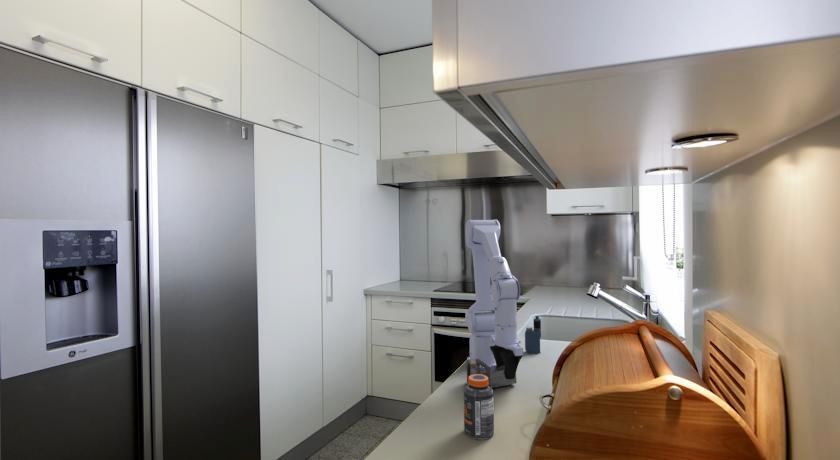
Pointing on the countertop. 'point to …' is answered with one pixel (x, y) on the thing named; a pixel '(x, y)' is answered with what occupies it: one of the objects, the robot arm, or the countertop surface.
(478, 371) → the dark grey rectangular frame
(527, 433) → the countertop surface
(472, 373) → the gray rectangular prism
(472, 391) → the pill bottle
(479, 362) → the bracket
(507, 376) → the robot arm
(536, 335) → the vaping device
